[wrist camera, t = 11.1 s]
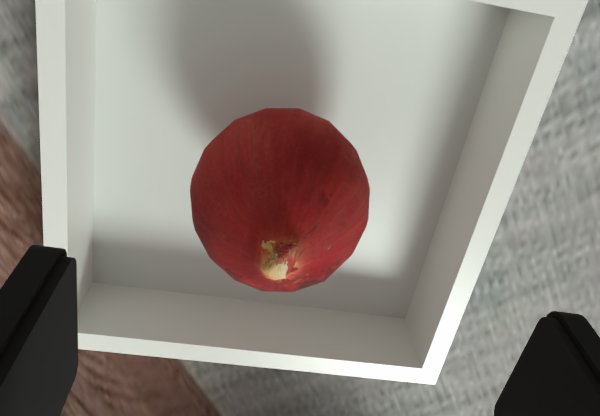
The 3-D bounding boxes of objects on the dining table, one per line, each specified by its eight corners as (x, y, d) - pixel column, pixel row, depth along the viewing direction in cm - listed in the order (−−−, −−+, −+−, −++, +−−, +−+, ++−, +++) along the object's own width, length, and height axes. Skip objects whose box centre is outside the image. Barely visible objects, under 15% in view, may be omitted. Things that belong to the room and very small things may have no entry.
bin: (73, -114, 17) (31, -121, 14) (539, -19, 19) (590, -7, 16) (75, 290, 24) (47, 345, 21) (415, 329, 26) (434, 384, 23)
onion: (374, 191, 22) (416, 325, 15) (243, 236, 23) (226, 382, 16) (326, 55, 20) (350, 143, 13) (179, 112, 20) (125, 224, 13)
